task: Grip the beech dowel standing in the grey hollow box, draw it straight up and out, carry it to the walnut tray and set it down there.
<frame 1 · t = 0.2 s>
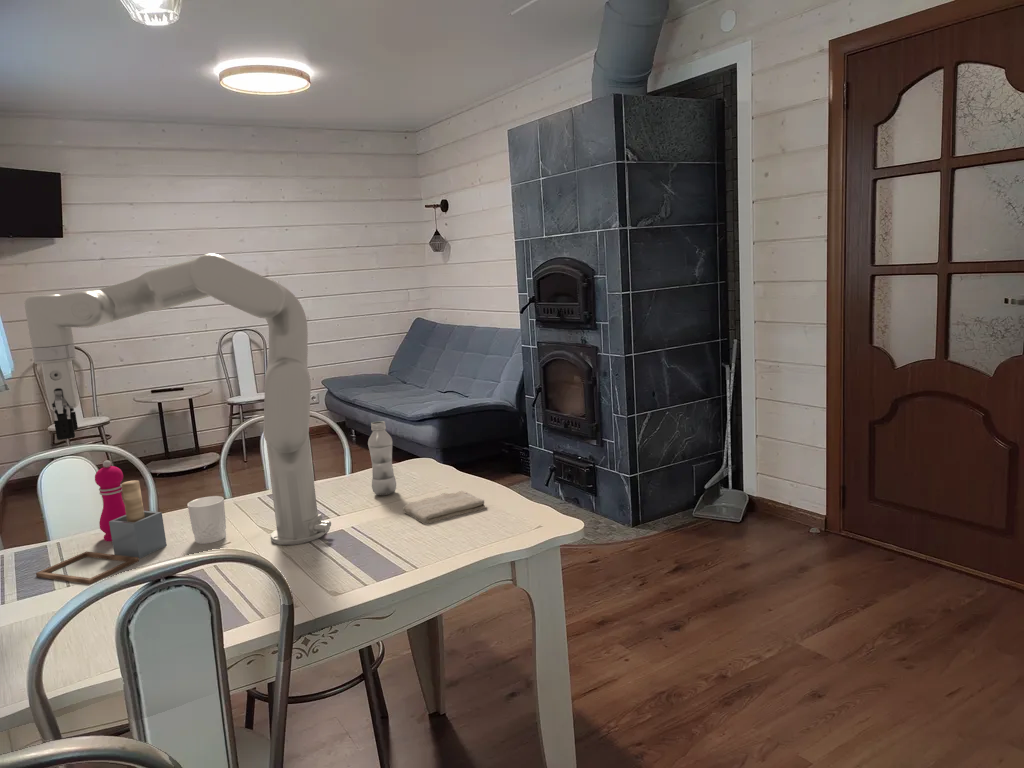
hand: (68, 434, 156), 30 cm above the table, tool pointing down, fingers open, 9 cm apart
white cup: (211, 542, 173), on the table
dowel: (140, 550, 168), point 1 cm above the table, touching grey hollow box
grey hollow box: (141, 554, 168), on the table
pepper mill: (119, 541, 179), on the table
plastic bottle: (385, 494, 201), on the table
tray: (89, 572, 159), on the table
washcloth: (445, 512, 185), on the table
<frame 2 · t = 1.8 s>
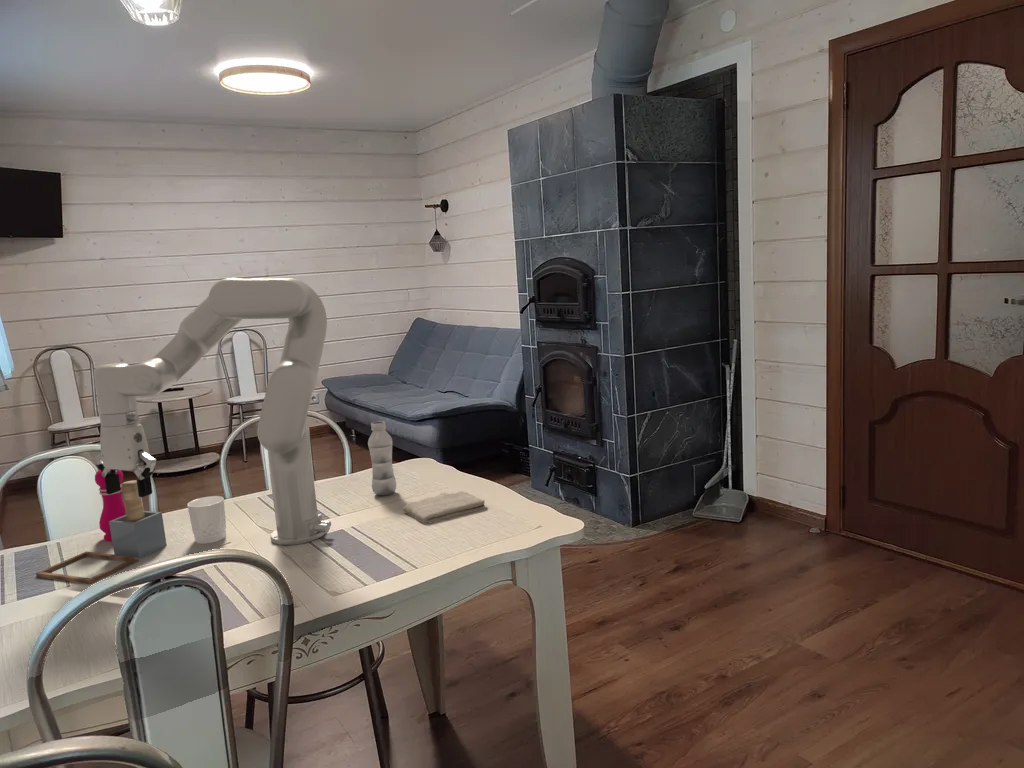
hand: (129, 493, 166), 14 cm above the table, tool pointing down, fingers open, 9 cm apart
nothing on the table moved.
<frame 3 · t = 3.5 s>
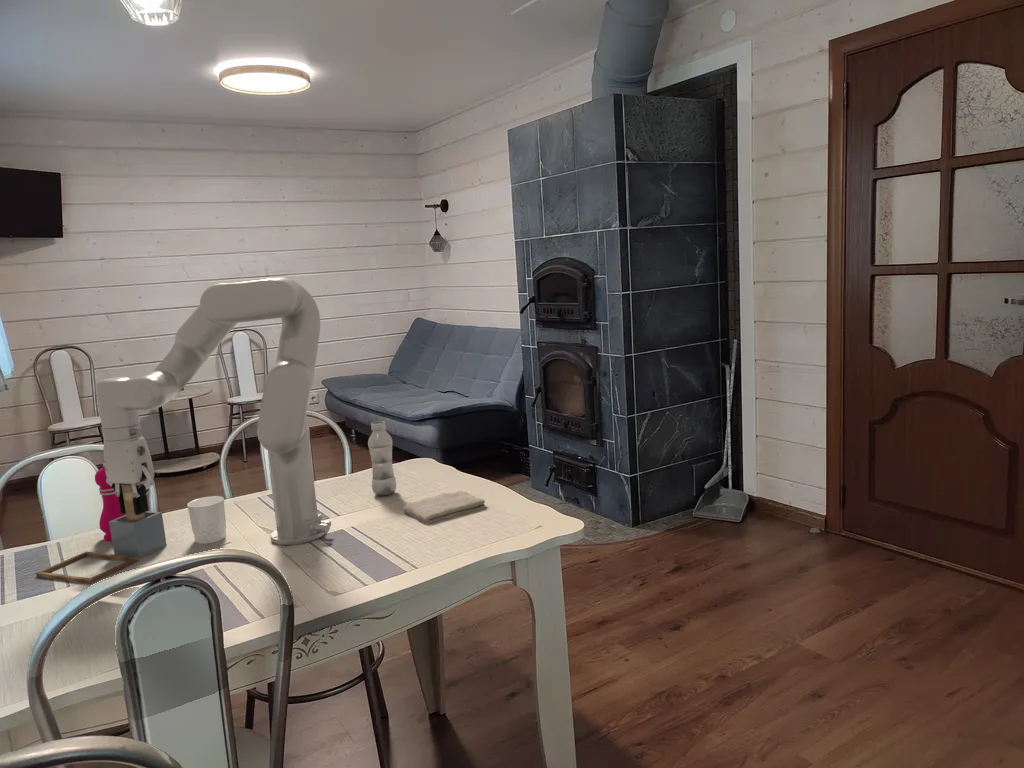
hand: (134, 511, 167), 10 cm above the table, tool pointing down, fingers closed on dowel, 3 cm apart
dowel: (140, 550, 168), point 1 cm above the table, touching grey hollow box, gripper
everything else where it was.
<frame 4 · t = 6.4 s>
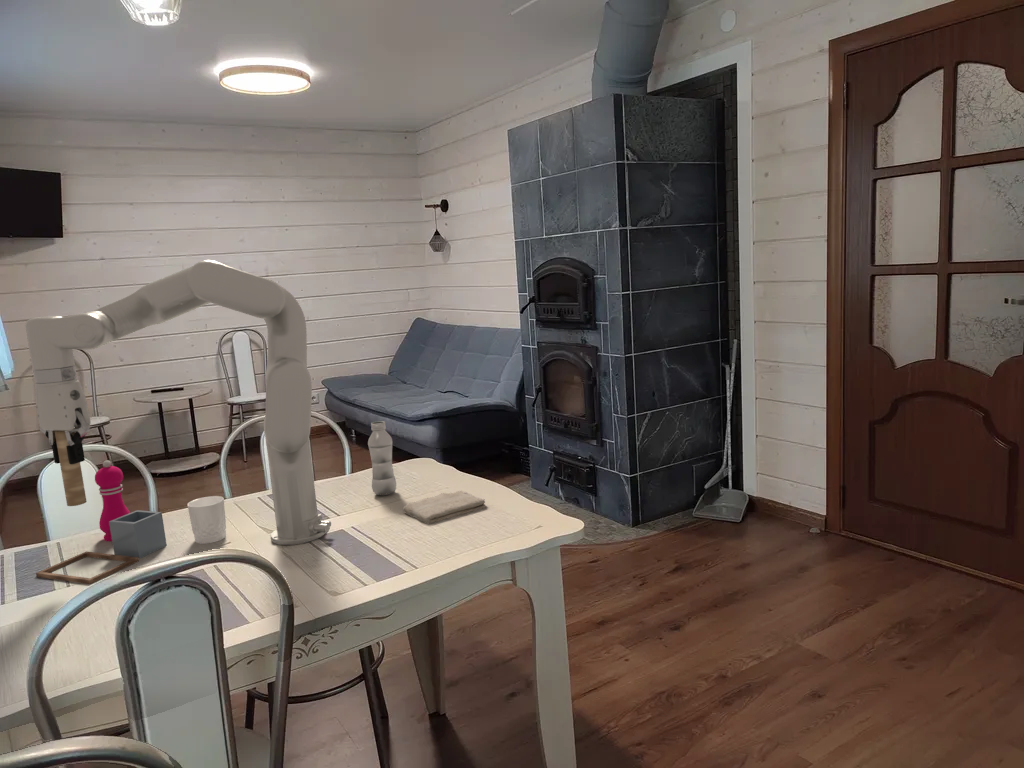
hand: (69, 461, 155), 25 cm above the table, tool pointing down, fingers closed on dowel, 3 cm apart
dowel: (76, 503, 157), point 16 cm above the table, touching gripper
everything else where it was.
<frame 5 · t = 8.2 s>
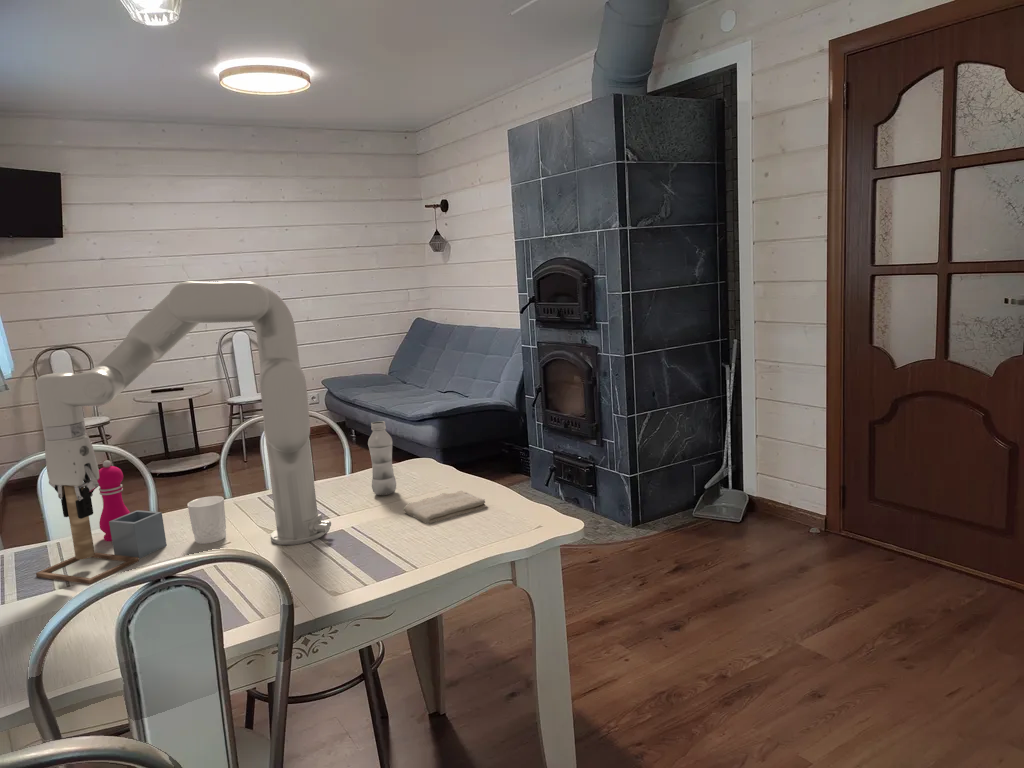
hand: (78, 514, 157), 13 cm above the table, tool pointing down, fingers closed on dowel, 3 cm apart
dowel: (85, 556, 159), point 4 cm above the table, touching gripper
everything else where it was.
when the fingers open (11 cm above the table, at t = 9.5 s): dowel stays where it is, resting on tray.
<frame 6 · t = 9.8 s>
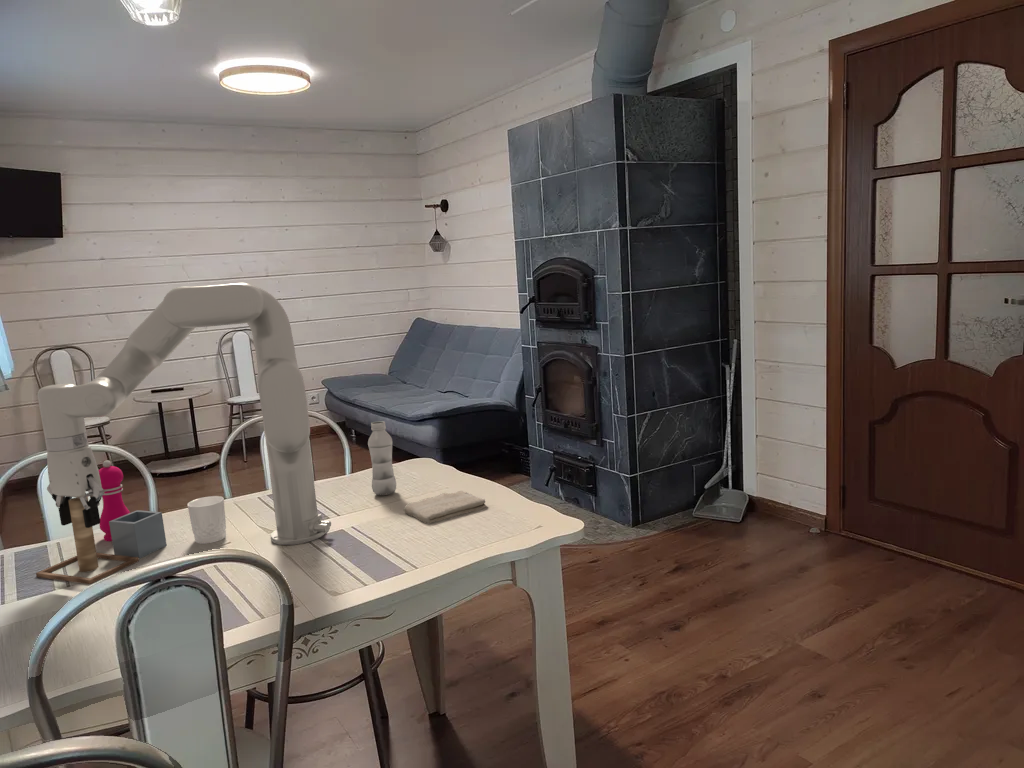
hand: (80, 523, 158), 11 cm above the table, tool pointing down, fingers open, 6 cm apart
dowel: (89, 570, 159), point 1 cm above the table, touching tray
everything else where it was.
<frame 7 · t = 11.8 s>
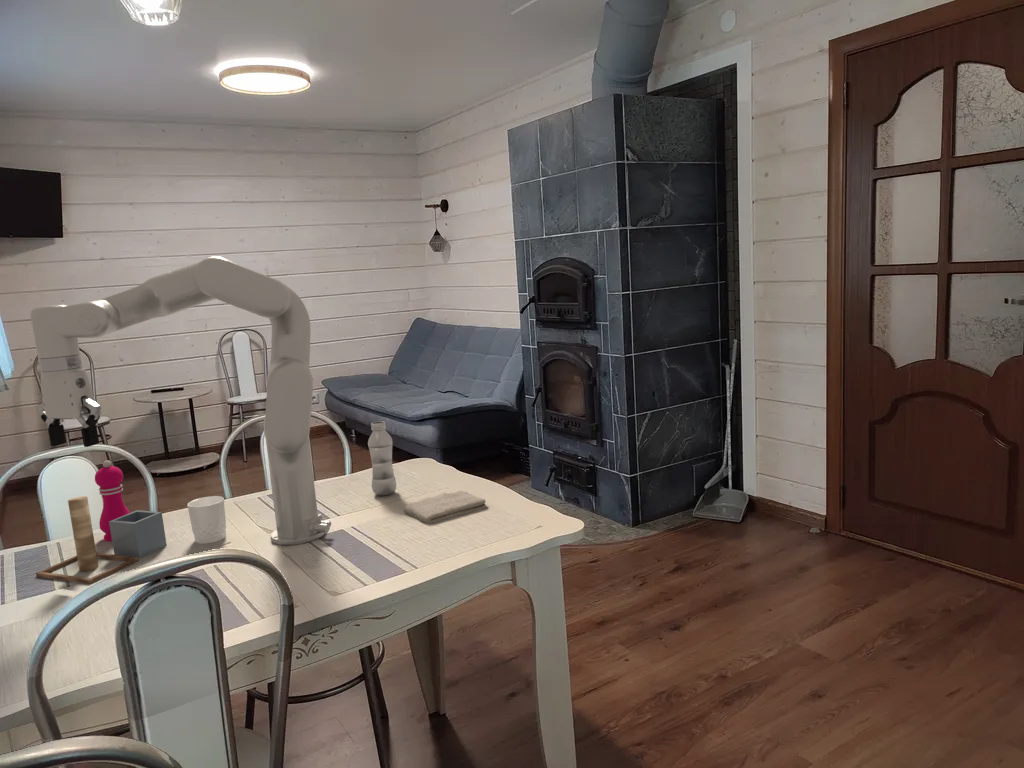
hand: (75, 444, 156), 28 cm above the table, tool pointing down, fingers open, 9 cm apart
nothing on the table moved.
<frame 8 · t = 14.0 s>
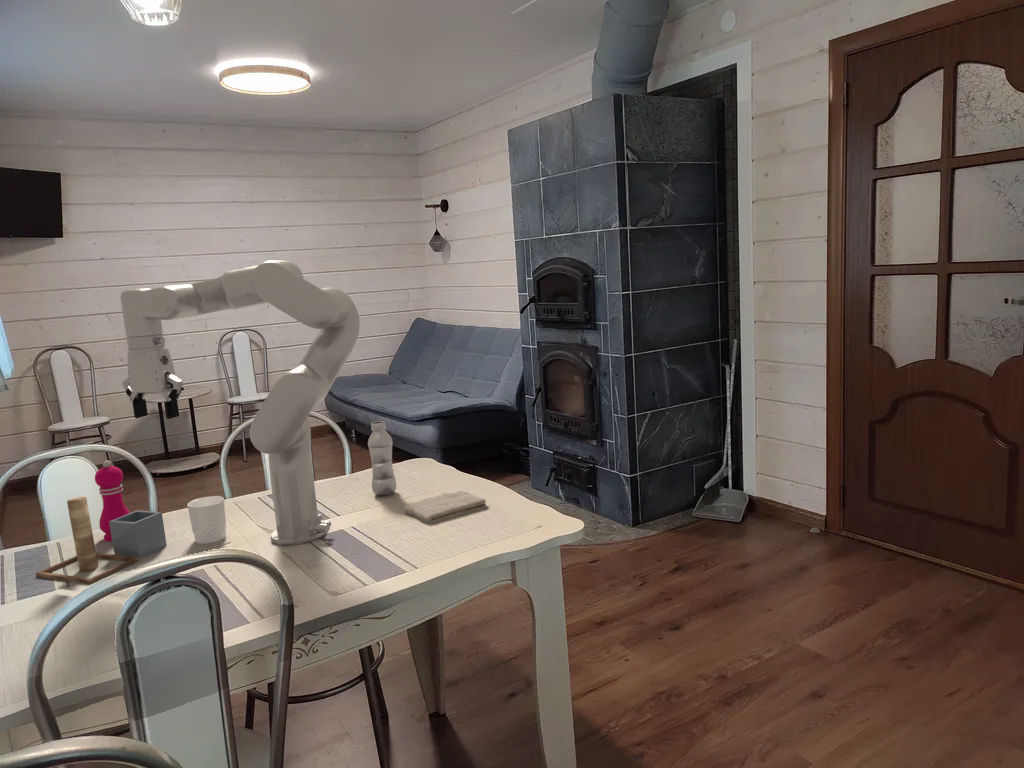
hand: (157, 417, 170), 30 cm above the table, tool pointing down, fingers open, 9 cm apart
nothing on the table moved.
at the end: dowel inside the target area on the tray (0.1 cm from its centre), point 0.6 cm above the tray's base; dowel touching tray; the gripper is holding nothing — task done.
